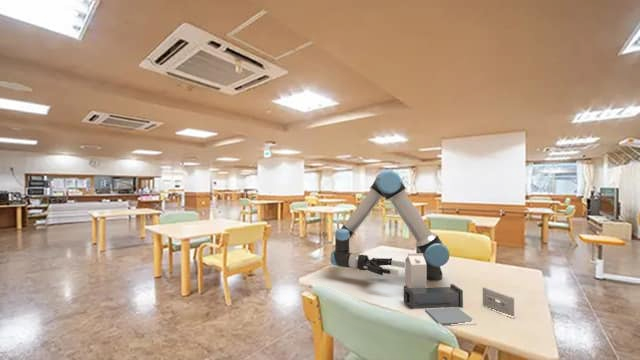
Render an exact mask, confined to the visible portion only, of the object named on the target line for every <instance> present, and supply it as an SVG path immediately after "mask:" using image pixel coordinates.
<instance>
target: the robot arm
mask: <svg viewBox="0 0 640 360" xmlns="http://www.w3.org/2000/svg"><path fill="white" fill-rule="evenodd" d="M406 191H407V187H406V186H405V185H404V183H403V181H402V178H401V176H400V174H399V173H397V172H396V171H394V170H392V169H386V170H385V169H384V170H382V171H381V172H380V173H378V174H377V175H376V178H375V180H374V181H373V183H372V184H371V185H370V187H369V191H368V192H367V194H366V195H365V197H364V198H363V199H362V200H361V202H360V203H359V204H358V206H356V208H355V209H354V211H353V212H352V214H350V215H349V217H348V218H347V220H346V221H345V223H344V224H343V225H342V227H341V228H337V229H336V230H335V231H334V232H335V235H334V239H335V240H334V241H335V242H334V245H335V246H334V247H335V250H333V251H332V252H331V253H330V259H329V261H330V263H331V264H332V265H333V266H337V267H341V268H349V269H353V270H360V271H368V272H371V273H374V274H377V275H380V276H384V275H390V276H395V277H399V269H396V268H393V267H398V268H403V269H405V261H400V260H393V258H391V257H390V258H382V257H381V258H380V257H379V258H376V257H372V258H370V259H369V256H368V255H366V254H360V253H354V252H352V253H351V252H350V240H351V238H352V237H353V235H354V234H355V233H356V232H357V230H358V228H360V227H361V226H362V223H364V221H365V220H366V219H367V217H368V216H369V215H370V213H371V212H372V210H373V209H374V208H375V207H376V205H377V204H378V203H379V201H381V199H385V200H386V201H388V202H390V203H391V204H392V206H393V207H394V208H395V210H396V212H397V214H398V215H399V216H400V218H401V219H402V221H403V223H404V224H405V226H406V227H407V229H408V231H409V232H410V233H411V235H412V236H413V238H414V240H415V241H416V242H415V246H416V247H415V248H416V249H415V250H416V253H423V256H424V259H425V261H426V264H427V281H433V282H434V281H441V280H443V271H442V269H441V267H443V266H444V265H446V264H447V263H448V262H449V260H450V257H451V255H450V251H449V249H448V247H447V245H445V244H444V243H443V242H442V240H441V239H440V236H439V235H438V234H437V233H435V232H432V231H431V230H430V228H429V227H428V225H427V224H426V222H425V221H424V219H423V217H422V215H421V214H420V213H419V211H418V210H417V208H416V206H415V205H414V204H413V202H412V201H411V199H410V197H409V196H408V195H407V193H406ZM382 266H384V267H382ZM386 266H391V267H392V268H390V267H386Z"/></svg>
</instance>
